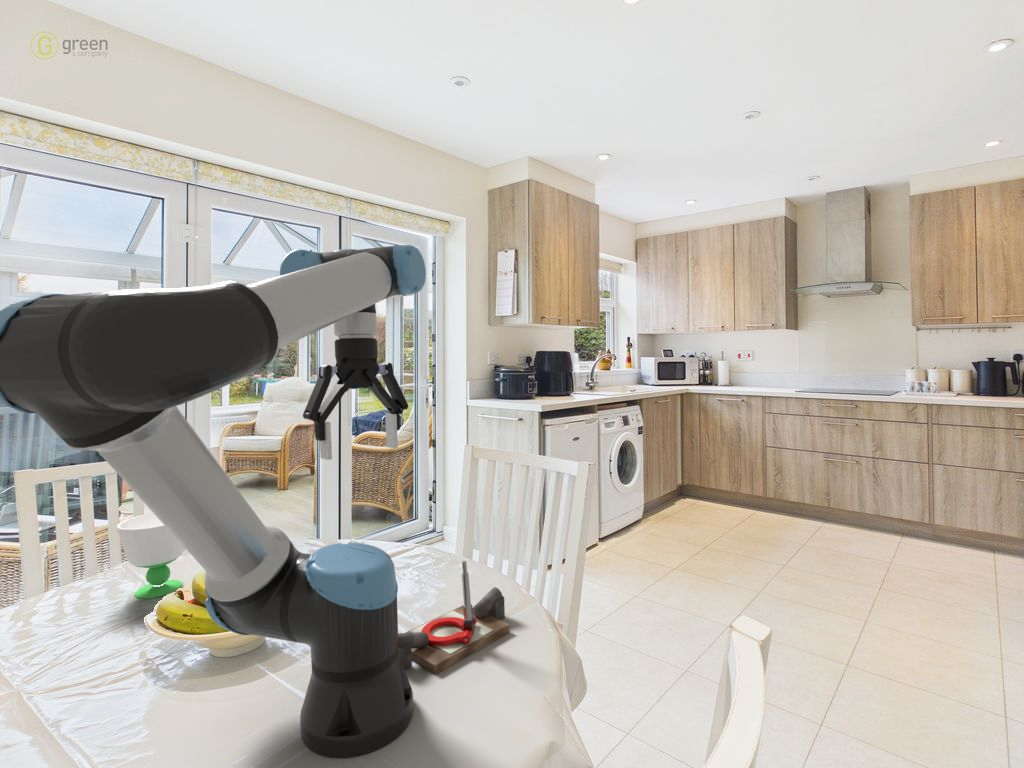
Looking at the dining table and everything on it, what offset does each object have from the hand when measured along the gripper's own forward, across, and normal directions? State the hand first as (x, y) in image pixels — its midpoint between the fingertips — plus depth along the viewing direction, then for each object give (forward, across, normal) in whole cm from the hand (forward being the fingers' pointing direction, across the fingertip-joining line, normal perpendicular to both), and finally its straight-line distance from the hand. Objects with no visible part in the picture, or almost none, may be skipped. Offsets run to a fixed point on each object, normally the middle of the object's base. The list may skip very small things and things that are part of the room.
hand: (360, 453), depth 99 cm
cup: (+33, +22, -50) cm, 64 cm away
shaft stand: (+33, -7, +16) cm, 37 cm away
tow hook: (+31, -6, +16) cm, 36 cm away
